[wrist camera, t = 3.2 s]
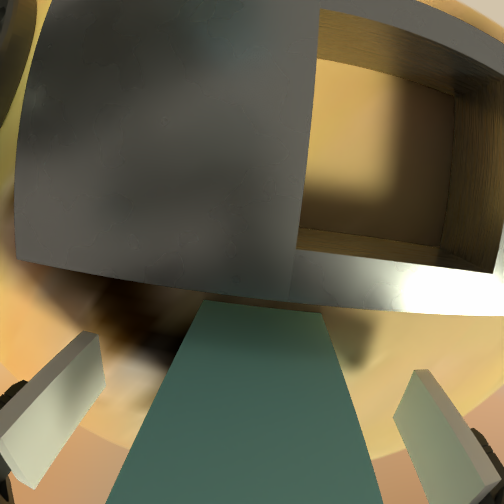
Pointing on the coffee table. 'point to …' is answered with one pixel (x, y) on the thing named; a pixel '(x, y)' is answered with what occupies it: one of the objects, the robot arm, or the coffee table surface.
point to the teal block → (250, 418)
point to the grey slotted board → (246, 150)
